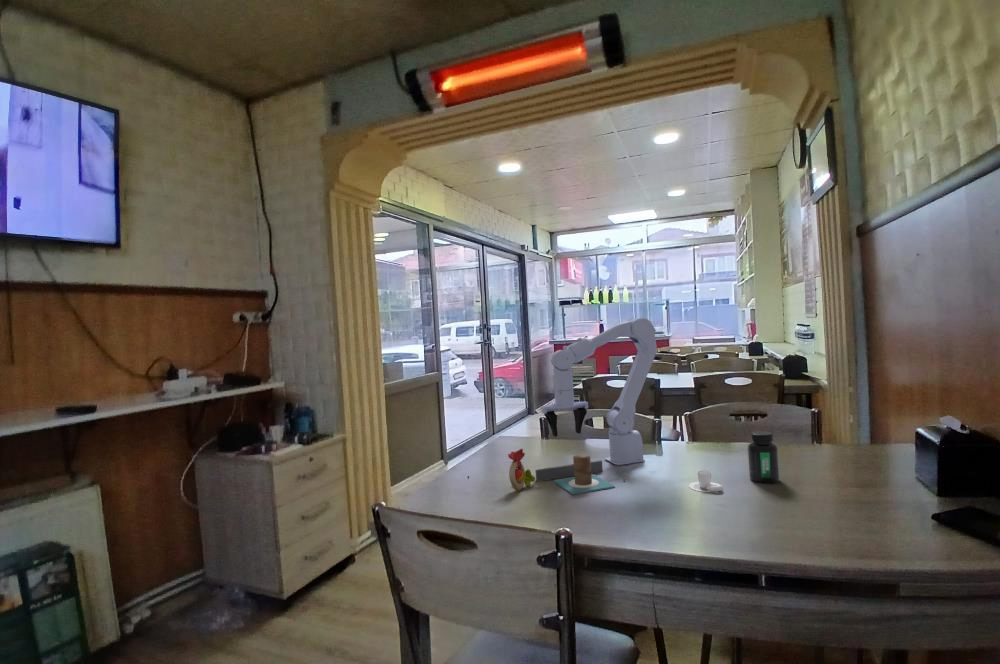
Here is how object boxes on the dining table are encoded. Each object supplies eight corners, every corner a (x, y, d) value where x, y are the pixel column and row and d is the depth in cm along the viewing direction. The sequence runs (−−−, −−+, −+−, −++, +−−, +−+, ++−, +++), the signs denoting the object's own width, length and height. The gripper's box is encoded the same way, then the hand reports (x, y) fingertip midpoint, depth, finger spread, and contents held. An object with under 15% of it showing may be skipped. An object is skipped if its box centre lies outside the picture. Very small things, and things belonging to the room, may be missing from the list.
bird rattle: (529, 499, 135) (538, 476, 143) (521, 466, 131) (530, 444, 139) (507, 498, 138) (517, 476, 145) (498, 465, 133) (509, 444, 141)
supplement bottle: (772, 485, 127) (769, 437, 127) (744, 480, 133) (742, 433, 133) (784, 479, 132) (781, 432, 132) (757, 474, 137) (754, 429, 137)
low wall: (601, 470, 150) (600, 460, 150) (602, 471, 149) (602, 460, 149) (536, 480, 144) (535, 469, 144) (537, 481, 144) (536, 470, 143)
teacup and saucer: (726, 495, 124) (725, 478, 124) (692, 494, 126) (691, 478, 126) (719, 483, 133) (718, 467, 133) (686, 483, 135) (685, 468, 135)
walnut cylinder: (586, 479, 141) (584, 453, 141) (595, 483, 137) (593, 456, 137) (571, 482, 139) (570, 456, 139) (580, 486, 135) (578, 459, 135)
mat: (593, 475, 146) (593, 473, 146) (614, 487, 134) (614, 485, 134) (554, 481, 142) (554, 479, 142) (572, 494, 131) (571, 492, 131)
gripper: (580, 386, 163) (582, 429, 163) (536, 390, 159) (539, 434, 159) (590, 388, 156) (593, 433, 156) (545, 393, 152) (548, 439, 152)
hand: (566, 434), depth 157 cm, fingers open, 7 cm apart
